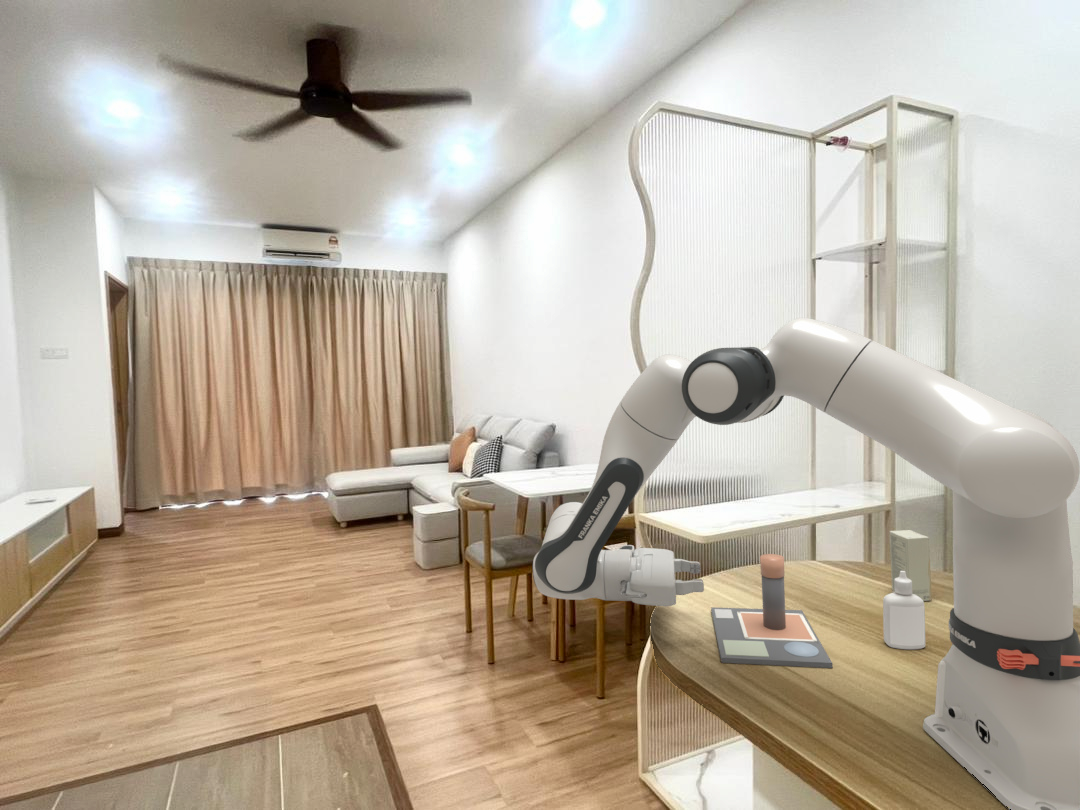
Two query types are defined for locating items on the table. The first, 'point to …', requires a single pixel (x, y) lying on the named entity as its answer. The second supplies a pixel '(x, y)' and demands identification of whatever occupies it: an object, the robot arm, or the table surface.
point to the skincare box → (911, 560)
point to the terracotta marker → (773, 591)
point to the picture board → (767, 639)
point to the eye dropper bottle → (903, 616)
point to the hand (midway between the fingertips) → (701, 576)
